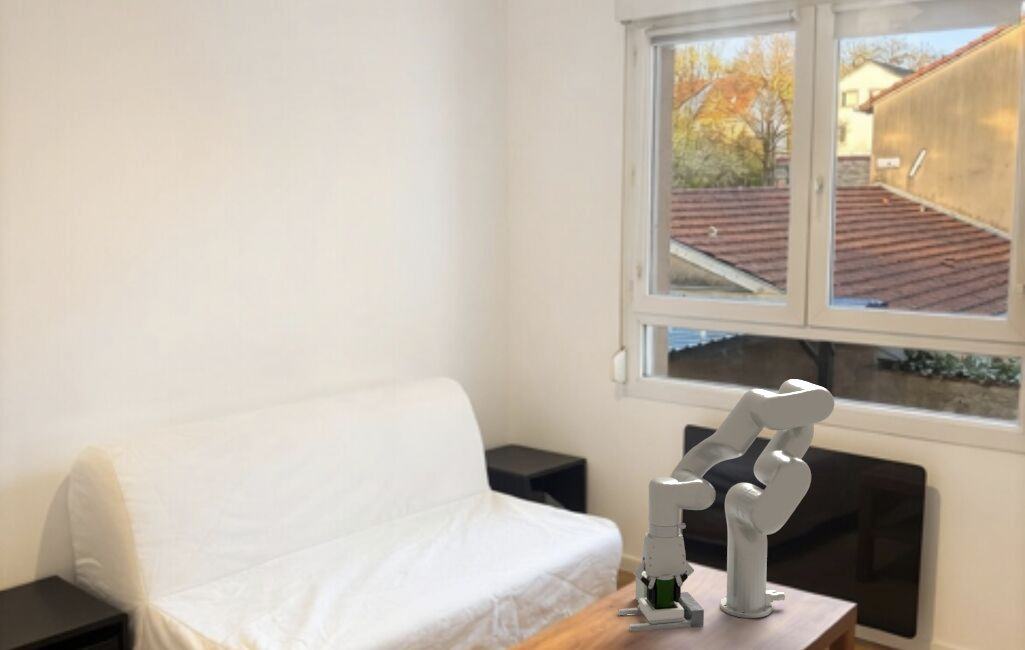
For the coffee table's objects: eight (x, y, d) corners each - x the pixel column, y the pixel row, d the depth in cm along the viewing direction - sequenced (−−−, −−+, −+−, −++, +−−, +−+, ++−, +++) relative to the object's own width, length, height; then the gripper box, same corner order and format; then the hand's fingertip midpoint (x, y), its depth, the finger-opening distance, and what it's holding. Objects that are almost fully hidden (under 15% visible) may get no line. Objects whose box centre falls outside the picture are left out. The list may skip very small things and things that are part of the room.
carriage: (670, 603, 243) (670, 593, 242) (685, 621, 232) (685, 611, 232) (637, 606, 241) (637, 596, 241) (651, 624, 231) (651, 614, 230)
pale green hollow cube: (665, 595, 251) (665, 565, 250) (675, 607, 244) (675, 576, 243) (635, 598, 250) (635, 568, 249) (644, 610, 242) (644, 579, 241)
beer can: (662, 625, 233) (662, 577, 232) (647, 617, 238) (647, 570, 236) (679, 620, 236) (679, 572, 235) (664, 612, 241) (664, 566, 239)
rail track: (687, 607, 244) (687, 592, 243) (703, 625, 233) (703, 609, 232) (618, 613, 241) (618, 597, 240) (631, 632, 230) (631, 616, 229)
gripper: (692, 521, 239) (691, 592, 242) (625, 526, 236) (625, 598, 239) (703, 531, 232) (702, 604, 234) (634, 536, 229) (634, 610, 231)
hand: (663, 600), depth 236 cm, fingers closed on beer can, 5 cm apart
